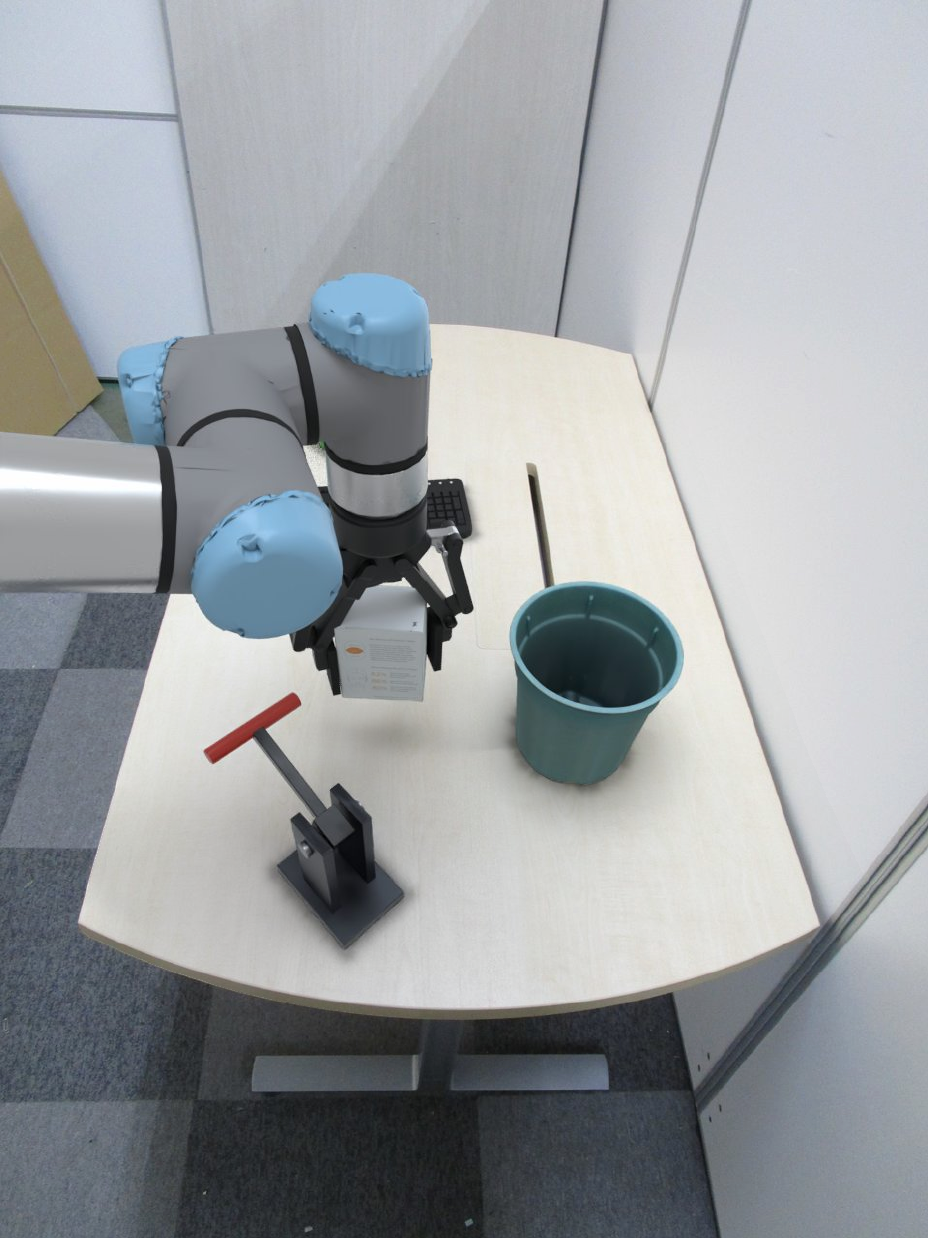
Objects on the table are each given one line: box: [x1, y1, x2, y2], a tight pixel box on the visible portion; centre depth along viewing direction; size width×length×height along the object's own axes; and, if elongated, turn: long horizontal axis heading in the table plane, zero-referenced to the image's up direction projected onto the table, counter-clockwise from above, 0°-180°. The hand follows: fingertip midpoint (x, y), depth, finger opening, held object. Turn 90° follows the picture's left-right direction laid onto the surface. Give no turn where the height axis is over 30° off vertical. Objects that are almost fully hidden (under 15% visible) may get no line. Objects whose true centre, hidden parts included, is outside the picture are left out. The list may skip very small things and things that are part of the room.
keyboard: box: [317, 478, 473, 540], centre depth 107 cm, size 30×11×2 cm, turn 99°
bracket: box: [276, 782, 405, 950], centre depth 68 cm, size 10×7×13 cm
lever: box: [202, 691, 355, 851], centre depth 66 cm, size 13×9×2 cm
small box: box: [333, 584, 428, 702], centre depth 73 cm, size 8×6×10 cm
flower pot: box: [508, 580, 685, 786], centre depth 80 cm, size 16×16×16 cm
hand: (384, 672), depth 76 cm, fingers closed on small box, 9 cm apart
